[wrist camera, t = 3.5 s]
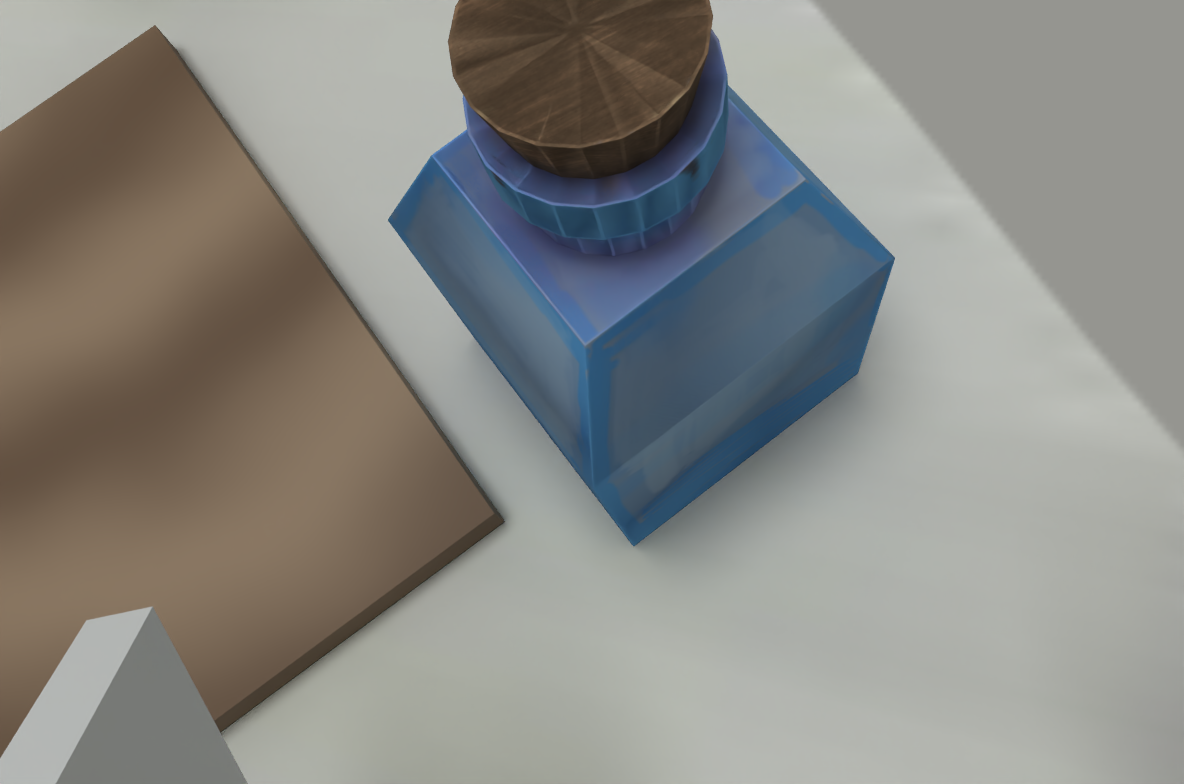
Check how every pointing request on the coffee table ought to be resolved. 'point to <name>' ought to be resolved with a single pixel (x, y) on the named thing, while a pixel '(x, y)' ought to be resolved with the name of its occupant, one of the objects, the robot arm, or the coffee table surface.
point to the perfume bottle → (637, 246)
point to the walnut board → (193, 404)
